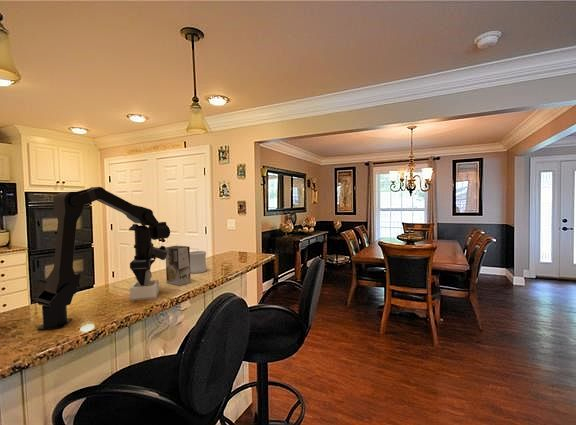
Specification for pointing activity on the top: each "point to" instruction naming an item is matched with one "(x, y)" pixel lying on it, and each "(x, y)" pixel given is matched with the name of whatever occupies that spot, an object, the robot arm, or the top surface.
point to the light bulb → (147, 277)
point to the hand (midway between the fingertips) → (144, 282)
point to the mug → (197, 261)
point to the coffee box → (178, 265)
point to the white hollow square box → (144, 291)
